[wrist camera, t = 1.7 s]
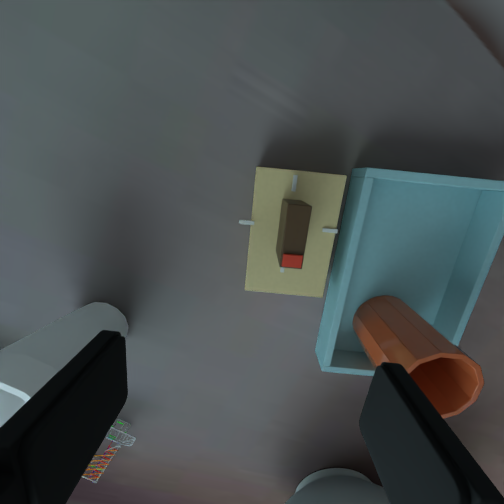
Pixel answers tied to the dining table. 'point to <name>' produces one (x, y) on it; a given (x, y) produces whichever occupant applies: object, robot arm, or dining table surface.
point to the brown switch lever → (292, 233)
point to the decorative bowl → (338, 489)
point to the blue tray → (409, 254)
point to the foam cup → (50, 352)
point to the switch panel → (267, 223)
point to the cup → (418, 353)
